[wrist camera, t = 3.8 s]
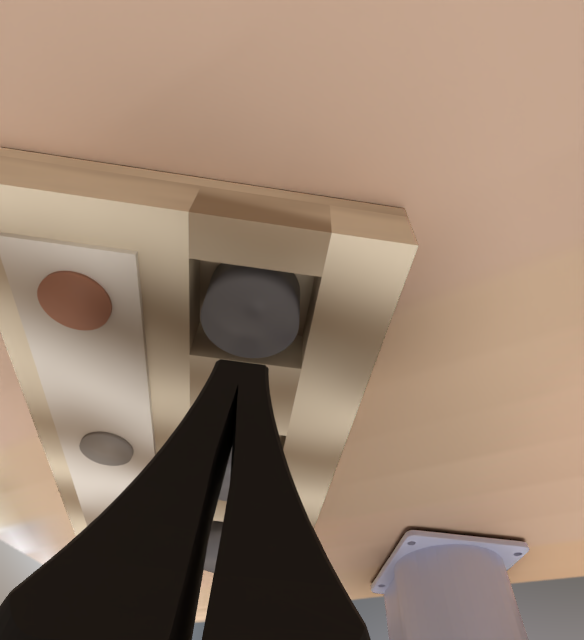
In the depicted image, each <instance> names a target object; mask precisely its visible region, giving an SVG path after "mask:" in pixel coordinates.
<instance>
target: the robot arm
mask: <svg viewBox="0 0 584 640" xmlns="http://www.w3.org/2000/svg"><path fill="white" fill-rule="evenodd" d="M231 449H232V458H231V473H230V486H229V492H228V497H227V503H226V509H225V515H224V520H223V526H222V532H221V537H220V543H219V549H218V554H217V560H216V565H215V571H214V577H213V582H212V587H211V593H210V598H209V604H208V609H207V615H206V620H205V626H204V631H203V637H202V640H370V637H369V633H368V630H367V627H366V624H365V623H364V621H363V619H362V617H361V616H360V614H359V612H358V611H357V609H356V607H355V606H354V604H353V603H352V601H351V599H350V597H349V596H348V594H347V592H346V590H345V589H344V587H343V585H342V583H341V582H340V580H339V578H338V576H337V574H336V572H335V570H334V569H333V567H332V565H331V563H330V561H329V559H328V557H327V555H326V553H325V551H324V549H323V547H322V545H321V543H320V541H319V539H318V537H317V535H316V533H315V530H314V528H313V526H312V524H311V522H310V520H309V518H308V515H307V513H306V511H305V508H304V506H303V504H302V501H301V499H300V496H299V494H298V491H297V489H296V486H295V484H294V481H293V478H292V475H291V473H290V470H289V467H288V464H287V461H286V457H285V454H284V451H283V448H282V444H281V441H280V437H279V433H278V429H277V425H276V421H275V417H274V413H273V408H272V402H271V396H270V389H269V368H268V367H267V366H266V365H262V364H254V363H246V362H238V361H231V360H223V359H220V360H218V361H216V363H215V365H214V368H213V370H212V372H211V374H210V376H209V378H208V380H207V382H206V383H205V385H204V387H203V389H202V390H201V392H200V394H199V395H198V397H197V398H196V400H195V402H194V403H193V405H192V406H191V408H190V409H189V411H188V412H187V414H186V415H185V417H184V418H183V419H182V421H181V422H180V424H179V425H178V426H177V428H176V429H175V430H174V432H173V433H172V434H171V436H170V437H169V438H168V440H167V441H166V442H165V444H164V445H163V446H162V447H161V449H160V450H159V451H158V452H157V454H156V455H155V456H154V457H153V458H152V460H151V461H150V462H149V463H148V464H147V465H146V467H145V468H144V469H143V470H142V471H141V472H140V473H139V475H138V476H137V477H136V478H135V479H134V480H133V481H132V482H131V483H130V484H129V485H128V486H127V487H126V488H125V490H124V491H123V492H122V493H121V494H120V495H119V496H118V497H117V498H116V499H115V500H114V501H113V502H112V503H111V504H110V505H109V506H108V507H107V508H106V509H105V510H104V511H103V512H102V513H101V514H100V515H99V516H98V517H97V518H96V519H94V520H93V521H92V522H91V523H90V524H89V525H88V526H87V527H86V528H85V529H84V530H82V531H81V532H80V533H79V534H78V535H77V536H76V537H75V538H74V539H73V540H72V541H71V542H69V543H68V544H67V545H66V546H65V547H64V548H63V549H61V550H60V551H59V552H58V553H57V554H56V555H54V556H53V557H52V558H51V559H50V560H48V561H47V562H46V563H45V564H44V565H42V566H41V567H40V568H39V569H37V570H36V571H35V572H34V573H33V574H31V575H30V576H29V577H28V578H26V579H25V580H24V581H23V582H22V583H20V584H19V585H18V586H17V587H15V588H14V589H13V590H12V591H11V592H10V593H9V595H8V596H7V597H6V599H5V600H4V601H3V603H2V604H1V606H0V640H192V634H193V629H194V623H195V616H196V611H197V605H198V599H199V593H200V587H201V581H202V575H203V569H204V563H205V558H206V552H207V546H208V540H209V535H210V531H211V526H212V522H213V518H214V514H215V510H216V507H217V503H218V499H219V495H220V491H221V487H222V484H223V480H224V476H225V472H226V468H227V464H228V460H229V457H230V453H231ZM528 551H529V547H528V544H527V543H526V542H523V541H514V540H505V539H496V538H486V537H477V536H467V535H458V534H449V533H439V532H430V531H420V530H409V531H407V532H406V533H405V534H404V536H403V537H402V539H401V540H400V542H399V543H398V545H397V547H396V548H395V550H394V551H393V553H392V554H391V556H390V557H389V559H388V560H387V562H386V563H385V565H384V566H383V568H382V569H381V571H380V572H379V574H378V575H377V577H376V578H375V580H374V581H373V583H372V584H371V591H372V592H373V593H379V594H384V598H385V607H386V616H387V625H388V634H389V640H528V637H527V634H526V631H525V628H524V625H523V621H522V618H521V615H520V612H519V609H518V606H517V602H516V599H515V596H514V593H513V590H512V587H511V583H510V580H509V577H508V574H507V570H508V569H509V568H511V567H512V566H513V565H514V564H515V563H516V562H517V561H518V560H519V559H521V558H522V557H523V556H524V555H525V554H526V553H527V552H528Z"/></svg>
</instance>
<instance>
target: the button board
mask: <svg viewBox="0 0 584 640" xmlns="http://www.w3.org/2000/svg"><path fill="white" fill-rule="evenodd" d="M417 248H418V243H417V240H416V238H415V235H414V232H413V229H412V227H411V224H410V221H409V219H408V216H407V213H406V210H405V209H404V208H397V207H390V206H384V205H377V204H371V203H364V202H357V201H351V200H344V199H338V198H331V197H325V196H318V195H311V194H305V193H298V192H292V191H285V190H278V189H272V188H265V187H259V186H252V185H245V184H239V183H232V182H226V181H219V180H213V179H206V178H199V177H193V176H186V175H180V174H173V173H166V172H160V171H153V170H147V169H140V168H133V167H127V166H120V165H114V164H107V163H101V162H94V161H87V160H81V159H74V158H68V157H61V156H54V155H48V154H41V153H35V152H28V151H21V150H15V149H8V148H2V147H0V332H1V335H2V338H3V341H4V343H5V346H6V349H7V351H8V354H9V357H10V360H11V362H12V365H13V368H14V370H15V373H16V376H17V379H18V381H19V384H20V387H21V389H22V392H23V395H24V398H25V400H26V403H27V406H28V408H29V411H30V414H31V417H32V419H33V422H34V425H35V427H36V430H37V433H38V436H39V438H40V441H41V444H42V446H43V449H44V452H45V455H46V457H47V460H48V463H49V465H50V468H51V471H52V474H53V476H54V479H55V482H56V484H57V487H58V490H59V492H60V495H61V498H62V501H63V503H64V506H65V509H66V511H67V514H68V517H69V520H70V522H71V525H72V528H73V530H74V533H75V536H77V535H78V534H79V533H80V532H81V531H82V530H84V529H85V528H86V527H87V526H88V525H89V524H90V523H91V522H92V521H93V520H94V519H96V518H97V517H98V516H99V515H100V514H101V513H102V512H103V511H104V510H105V509H106V508H107V507H108V506H109V505H110V504H111V503H112V502H113V501H114V500H115V499H116V498H117V497H118V496H119V495H120V494H121V493H122V492H123V491H124V490H125V488H126V487H127V486H128V485H129V484H130V483H131V482H132V481H133V480H134V479H135V478H136V477H137V476H138V475H139V473H140V472H141V471H142V470H143V469H144V468H145V467H146V465H147V464H148V463H149V462H150V461H151V460H152V458H153V457H154V456H155V455H156V454H157V452H158V451H159V450H160V449H161V447H162V446H163V445H164V444H165V442H166V441H167V440H168V438H169V437H170V436H171V434H172V433H173V432H174V430H175V429H176V428H177V426H178V425H179V424H180V422H181V421H182V419H183V418H184V417H185V415H186V414H187V412H188V411H189V409H190V408H191V406H192V405H193V403H194V402H195V400H196V398H197V397H198V395H199V394H200V392H201V390H202V389H203V387H204V385H205V383H206V382H207V380H208V378H209V376H210V374H211V372H212V370H213V368H214V365H215V363H216V361H218V360H220V359H223V360H231V361H238V362H246V363H254V364H262V365H266V366H267V367H268V368H269V389H270V396H271V402H272V408H273V413H274V417H275V421H276V425H277V429H278V433H279V437H280V441H281V444H282V448H283V451H284V454H285V457H286V461H287V464H288V467H289V470H290V473H291V475H292V478H293V481H294V484H295V486H296V489H297V491H298V494H299V496H300V499H301V501H302V504H303V506H304V508H305V511H306V513H307V515H308V518H309V520H310V522H311V524H312V526H313V528H314V527H315V524H316V522H317V519H318V516H319V513H320V511H321V508H322V505H323V503H324V500H325V497H326V494H327V492H328V489H329V486H330V484H331V481H332V478H333V476H334V473H335V470H336V467H337V465H338V462H339V459H340V457H341V454H342V451H343V449H344V446H345V443H346V440H347V438H348V435H349V432H350V430H351V427H352V424H353V421H354V419H355V416H356V413H357V411H358V408H359V405H360V403H361V400H362V397H363V394H364V392H365V389H366V386H367V384H368V381H369V378H370V375H371V373H372V370H373V367H374V365H375V362H376V359H377V357H378V354H379V351H380V348H381V346H382V343H383V340H384V338H385V335H386V332H387V330H388V327H389V324H390V321H391V319H392V316H393V313H394V311H395V308H396V305H397V302H398V300H399V297H400V294H401V292H402V289H403V286H404V284H405V281H406V278H407V275H408V273H409V270H410V267H411V265H412V262H413V259H414V256H415V254H416V251H417ZM221 263H225V264H232V265H239V266H246V267H254V268H261V269H268V270H275V271H282V272H289V273H294V274H295V276H296V278H297V280H298V282H299V286H300V317H299V330H298V333H297V336H296V338H295V339H294V341H293V342H292V343H291V344H290V345H289V346H288V347H287V348H286V349H285V350H283V351H281V352H280V353H277V354H275V355H272V356H269V357H264V358H244V357H239V356H236V355H233V354H230V353H228V352H226V351H224V350H222V349H220V348H219V347H217V346H216V345H215V344H214V343H213V342H212V341H211V340H210V339H209V338H208V337H207V335H206V334H205V332H204V330H203V328H202V325H201V318H200V315H201V309H202V305H203V302H204V299H205V296H206V293H207V290H208V287H209V284H210V280H211V277H212V275H213V273H214V271H215V270H216V268H217V267H218V266H219V265H220V264H221ZM226 503H227V501H222V500H218V503H217V507H216V510H215V514H214V518H213V521H221V522H223V520H224V515H225V509H226Z"/></svg>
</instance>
